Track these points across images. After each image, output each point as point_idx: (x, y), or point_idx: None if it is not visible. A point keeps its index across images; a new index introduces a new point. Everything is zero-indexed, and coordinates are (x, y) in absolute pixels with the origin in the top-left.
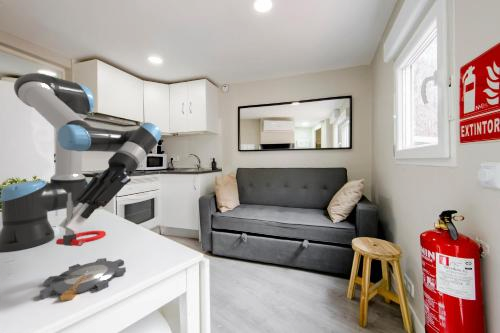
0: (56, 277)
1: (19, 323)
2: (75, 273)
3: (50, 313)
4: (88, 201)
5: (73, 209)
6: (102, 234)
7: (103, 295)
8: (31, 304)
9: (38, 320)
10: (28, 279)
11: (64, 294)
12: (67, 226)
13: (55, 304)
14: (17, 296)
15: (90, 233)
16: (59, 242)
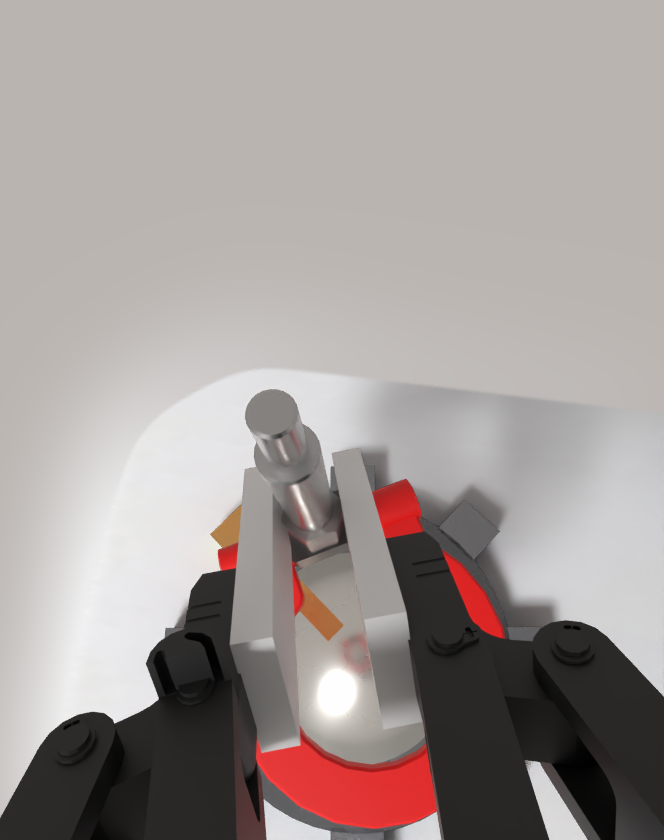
0: (458, 546)
1: (232, 393)
2: None
3: (195, 463)
4: (162, 640)
5: (384, 543)
6: (267, 759)
7: (118, 627)
8: (331, 439)
9: (190, 430)
10: (614, 482)
11: (238, 515)
12: (245, 473)
13: None
14: (456, 422)
15: None
16: (376, 490)
